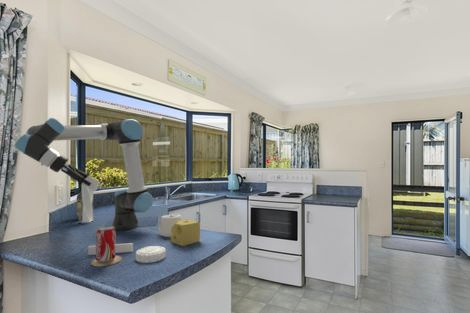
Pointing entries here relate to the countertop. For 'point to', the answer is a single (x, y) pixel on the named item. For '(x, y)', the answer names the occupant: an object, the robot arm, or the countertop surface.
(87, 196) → the white bottle
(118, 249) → the divider
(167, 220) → the toilet tissue
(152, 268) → the countertop surface
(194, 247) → the countertop surface
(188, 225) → the cheese
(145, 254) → the mooncake
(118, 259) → the coaster
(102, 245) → the soda can
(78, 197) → the liquor
